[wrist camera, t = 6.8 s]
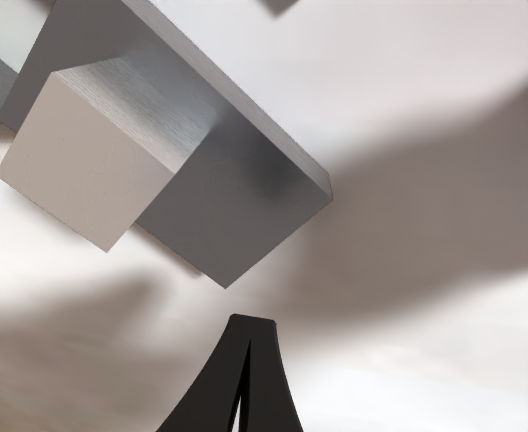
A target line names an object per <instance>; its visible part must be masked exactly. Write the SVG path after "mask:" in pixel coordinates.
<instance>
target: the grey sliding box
mask: <svg viewBox="0 0 528 432" xmlns="http://www.w3.org/2000/svg"><path fill="white" fill-rule="evenodd" d="M118 57H120V58H121V59H122V60H123V61H124V62H126V63H127V64H128V65H129V66H130V67H131V68H132V69H134V70H135V71H136V72H137V73H138V74H139V75H140V76H141V77H143V78H144V79H145V80H146V81H147V82H148V83H149V84H150V85H152V86H153V87H154V88H155V89H156V90H157V91H158V92H159V93H161V94H162V95H163V96H164V97H165V98H166V99H167V100H169V101H170V102H171V103H172V104H173V105H174V106H175V107H176V108H178V109H179V110H180V111H181V112H182V113H183V114H184V115H185V116H187V117H188V118H189V119H190V120H191V121H192V122H193V123H195V124H196V125H197V126H198V127H199V128H200V129H201V130H202V131H204V132H205V133H206V134H207V135H206V136H205V138H204V139H203V140H202V141H201V143H200V144H199V145H198V146H197V148H196V149H195V150H194V151H193V153H192V154H191V155H190V156H189V158H188V159H187V160H186V161H185V163H184V164H183V165H182V167H181V168H180V169H179V170H178V172H177V173H176V174H175V175H174V176H173V178H172V179H171V180H170V181H169V182H168V183H167V184H166V186H165V187H164V188H163V189H162V190H161V191H160V192H159V194H158V195H157V196H156V197H155V198H154V199H153V201H152V202H151V203H150V204H149V205H148V206H147V207H146V209H145V210H144V211H143V212H142V213H141V214H140V216H139V217H138V218H137V219H136V220H135V222H136V223H137V224H139V225H140V226H141V227H143V228H144V229H145V230H147V231H148V232H149V233H151V234H152V235H153V236H155V237H156V238H157V239H159V240H160V241H161V242H163V243H164V244H165V245H167V246H168V247H169V248H171V249H172V250H173V251H175V252H176V253H177V254H179V255H180V256H181V257H183V258H184V259H185V260H187V261H188V262H190V263H191V264H192V265H194V266H195V267H196V268H198V269H199V270H200V271H202V272H203V273H204V274H206V275H207V276H208V277H210V278H211V279H212V280H214V281H215V282H216V283H218V284H219V285H220V286H222V287H223V288H224V289H226V288H227V287H229V286H230V285H231V284H232V283H233V282H234V281H236V280H237V279H238V278H239V277H240V276H242V275H243V274H244V273H245V272H246V271H248V270H249V269H250V268H251V267H252V266H254V265H255V264H256V263H257V262H258V261H260V260H261V259H262V258H263V257H264V256H266V255H267V254H268V253H269V252H270V251H272V250H273V249H274V248H275V247H276V246H278V245H279V244H280V243H281V242H282V241H284V240H285V239H286V238H287V237H288V236H290V235H291V234H292V233H293V232H294V231H296V230H297V229H298V228H299V227H300V226H302V225H303V224H304V223H305V222H306V221H308V220H309V219H310V218H311V217H312V216H314V215H315V214H316V213H317V212H318V211H320V210H321V209H322V208H323V207H324V206H326V205H327V204H328V203H329V202H330V201H332V200H333V197H332V191H331V186H330V180H329V175H328V173H327V172H326V171H325V170H324V169H323V168H322V167H321V166H320V165H319V164H318V163H317V162H316V161H315V160H314V159H313V158H312V157H311V156H310V155H309V154H308V153H307V152H306V151H305V150H304V149H302V148H301V147H300V146H299V145H298V144H297V143H296V142H295V141H294V140H293V139H292V138H291V137H290V136H289V135H288V134H287V133H286V132H285V131H284V130H283V129H282V128H281V127H280V126H279V125H278V124H277V123H276V122H274V121H273V120H272V119H271V118H270V117H269V116H268V115H267V114H266V113H265V112H264V111H263V110H262V109H261V108H260V107H259V106H258V105H257V104H256V103H255V102H254V101H253V100H252V99H251V98H250V97H249V96H248V95H246V94H245V93H244V92H243V91H242V90H241V89H240V88H239V87H238V86H237V85H236V84H235V83H234V82H233V81H232V80H231V79H230V78H229V77H228V76H227V75H226V74H225V73H224V72H223V71H222V70H221V69H220V68H218V67H217V66H216V65H215V64H214V63H213V62H212V61H211V60H210V59H209V58H208V57H207V56H206V55H205V54H204V53H203V52H202V51H201V50H200V49H199V48H198V47H197V46H196V45H195V44H194V43H193V42H192V41H191V40H189V39H188V38H187V37H186V36H185V35H184V34H183V33H182V32H181V31H180V30H179V29H178V28H177V27H176V26H175V25H174V24H173V23H172V22H171V21H170V20H169V19H168V18H167V17H166V16H165V15H164V14H163V13H161V12H160V11H159V10H158V9H157V8H156V7H155V6H154V5H153V4H152V3H151V2H150V1H149V0H56V2H55V4H54V6H53V8H52V10H51V12H50V14H49V16H48V17H47V19H46V21H45V23H44V25H43V27H42V29H41V31H40V33H39V35H38V37H37V39H36V41H35V43H34V45H33V47H32V49H31V51H30V53H29V55H28V57H27V59H26V61H25V63H24V65H23V67H22V69H21V71H20V73H19V74H18V73H17V72H15V71H14V70H13V69H12V68H10V67H9V66H8V65H6V64H5V63H4V62H3V61H1V60H0V124H2V123H3V124H5V125H6V126H7V127H9V128H10V129H11V130H13V131H14V132H15V133H18V132H19V130H20V128H21V126H22V124H23V122H24V121H25V119H26V117H27V115H28V113H29V112H30V110H31V108H32V106H33V104H34V103H35V101H36V99H37V97H38V95H39V94H40V92H41V90H42V88H43V86H44V85H45V83H46V81H47V79H48V77H49V75H50V74H51V72H55V71H60V70H64V69H69V68H73V67H78V66H82V65H87V64H91V63H96V62H100V61H105V60H109V59H114V58H118Z"/></svg>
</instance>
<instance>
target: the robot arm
mask: <svg viewBox="0 0 528 432" xmlns="http://www.w3.org/2000/svg"><path fill="white" fill-rule="evenodd" d="M240 396H241V401H240V415H239V430H238V432H303V429H302V426H301V423H300V421H299V418H298V415H297V412H296V409H295V406H294V403H293V400H292V396H291V393H290V390H289V386H288V383H287V379H286V375H285V372H284V368H283V364H282V359H281V354H280V350H279V344H278V338H277V329H276V323H275V321H274V320H270V319H264V318H258V317H252V316H246V315H240V314H232V315H231V316H230V318H229V321H228V323H227V326H226V328H225V330H224V332H223V334H222V336H221V338H220V340H219V342H218V344H217V345H216V347H215V349H214V351H213V352H212V354H211V356H210V357H209V359H208V361H207V362H206V364H205V366H204V367H203V369H202V370H201V372H200V373H199V375H198V376H197V378H196V379H195V381H194V382H193V384H192V385H191V386H190V388H189V389H188V391H187V392H186V394H185V395H184V396H183V398H182V399H181V400H180V402H179V403H178V404H177V406H176V407H175V408H174V410H173V411H172V412H171V414H170V415H169V416H168V417H167V419H166V420H165V421H164V422H163V424H162V425H161V426H160V427H159V428H158V430H157V431H156V432H232V429H233V425H234V421H235V417H236V413H237V409H238V404H239V400H240Z"/></svg>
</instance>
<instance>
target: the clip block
mask: <svg viewBox="0 0 528 432" xmlns="http://www.w3.org/2000/svg"><path fill="white" fill-rule="evenodd" d="M206 135H207V134H206V133H205V132H204V131H202V130H201V129H200V128H199V127H198V126H197V125H196V124H195V123H193V122H192V121H191V120H190V119H189V118H188V117H187V116H185V115H184V114H183V113H182V112H181V111H180V110H179V109H178V108H176V107H175V106H174V105H173V104H172V103H171V102H170V101H169V100H167V99H166V98H165V97H164V96H163V95H162V94H161V93H159V92H158V91H157V90H156V89H155V88H154V87H153V86H152V85H150V84H149V83H148V82H147V81H146V80H145V79H144V78H143V77H141V76H140V75H139V74H138V73H137V72H136V71H135V70H134V69H132V68H131V67H130V66H129V65H128V64H127V63H126V62H124V61H123V60H122V59H121V58H120V57H118V58H114V59H109V60H105V61H100V62H96V63H91V64H87V65H82V66H78V67H73V68H69V69H64V70H60V71H55V72H51V74H50V75H49V77H48V79H47V81H46V83H45V85H44V86H43V88H42V90H41V92H40V94H39V95H38V97H37V99H36V101H35V103H34V104H33V106H32V108H31V110H30V112H29V113H28V115H27V117H26V119H25V121H24V122H23V124H22V126H21V128H20V130H19V132H18V133H17V135H16V137H15V139H14V141H13V142H12V144H11V146H10V148H9V150H8V151H7V153H6V155H5V157H4V159H3V160H2V162H1V164H0V179H1V180H3V181H4V182H6V183H7V184H9V185H10V186H11V187H13V188H14V189H16V190H17V191H19V192H20V193H21V194H23V195H24V196H26V197H27V198H29V199H30V200H31V201H33V202H34V203H36V204H37V205H39V206H40V207H41V208H43V209H44V210H46V211H47V212H49V213H50V214H52V215H53V216H54V217H56V218H57V219H59V220H60V221H62V222H63V223H64V224H66V225H67V226H69V227H70V228H72V229H73V230H74V231H76V232H77V233H79V234H80V235H82V236H83V237H84V238H86V239H87V240H89V241H90V242H92V243H93V244H94V245H96V246H97V247H99V248H100V249H102V250H103V251H105V252H106V253H107V252H108V251H109V250H110V249H111V248H112V247H113V245H114V244H115V243H116V242H117V241H118V240H119V239H120V237H121V236H122V235H123V234H124V233H125V232H126V230H127V229H128V228H129V227H130V226H131V225H132V224H133V222H134V221H135V220H136V219H137V218H138V217H139V216H140V214H141V213H142V212H143V211H144V210H145V209H146V207H147V206H148V205H149V204H150V203H151V202H152V201H153V199H154V198H155V197H156V196H157V195H158V194H159V192H160V191H161V190H162V189H163V188H164V187H165V186H166V184H167V183H168V182H169V181H170V180H171V179H172V178H173V176H174V175H175V174H176V173H177V172H178V170H179V169H180V168H181V167H182V165H183V164H184V163H185V161H186V160H187V159H188V158H189V156H190V155H191V154H192V153H193V151H194V150H195V149H196V148H197V146H198V145H199V144H200V143H201V141H202V140H203V139H204V138H205V136H206Z"/></svg>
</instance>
